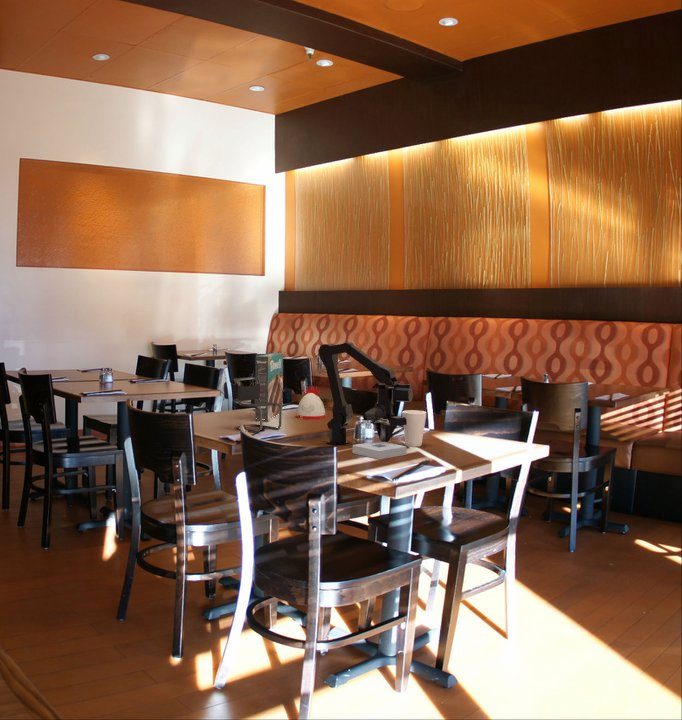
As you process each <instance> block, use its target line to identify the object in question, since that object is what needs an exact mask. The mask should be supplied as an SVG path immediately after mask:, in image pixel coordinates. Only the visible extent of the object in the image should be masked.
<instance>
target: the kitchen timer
mask: <svg viewBox="0 0 682 720" xmlns="http://www.w3.org/2000/svg"><path fill="white" fill-rule="evenodd" d="M320 391H321V389H319V390H318V387H317V386H316V387H315V388H314V386H312V388H311V386H310V385H309V386H308V388H305V390H302V392H303V395H304V396H303V397H302V398H301V400H300V401H299V404H298V406H297V409H296V419H299V418H303V419H302V420H307V419H316V420H321V419H320V418H324V419H326V409H325V406H324V402H323V401H322V399H321V398H320V397H319V396H318V395H319V393H320ZM297 415H298V416H297ZM300 416H303V417H300ZM321 416H323V417H321Z"/></svg>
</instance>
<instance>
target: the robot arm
mask: <svg viewBox="0 0 682 720" xmlns="http://www.w3.org/2000/svg"><path fill="white" fill-rule="evenodd" d="M317 353H318V357H319V358H320V362H321V363H322V364H323V366H324V367H325V370H326V375H327V379H328V384H329V387H330V392H331V393H330V394H331V397H332V398H331V399H332V401H333V403H332V404H333V405H332V418H331V419H330V420H329V421H327V423H326V425H327V429H329V440H328V441H326V443H327V444H331V445H334V446H338V445H346V444H350V442H349V441H347V428H346V427H348V426H349V423H350V422H351V421H352V419H353V415H354V411H353V409H352V408H353V407H352V403H349V404H348V402H347V401H346V398H345V395H344V390H343V385H342V381H341V375H340V372H339V367H338V363H339V355H341V354H345V353H346V354H347V355H348V356H350V357H351V358H352V359H353V360H354V361H356V362H358V363H359V364H360V365H362V366H363V367H364V368H366V369H367V370H368V371H369V372H370V374H371V375H372V376H373V378H374V379H375V380H376V381H377V382H375V384H374V385H372V387H371V388H372V389H376V390H377V402H375V403H374V407H372V408H370V409H369V410H367V411H366V412H364V414H363V415H362V416H363V417H362V419H363V421H367V422H370V424H372V425H373V426H374V427H375V429H376V430H375V431H376V432H377V436H378V438H379V440H380V434H381V423H382V422H387V424H383V426H384V427H385V435H386V442H388V443H389V441H390V439H391V438H392V436H393V434H394V432H395V430H396V428H397V427H399V426H403V425H407V419H406V418H405V417H402V415H401V416H400V415H398V416H396V415H395V413H393V407H395V406H396V403H394V401H393V400H395V402H399V403H401V402H402V403H403V402H404V403H411V402H413V401H412V400H413V397H414V392H413V387H412V384H411V383H406V384H405V383H400V381H399V380H398V379H397V377H396V376H395V375H396V374H395V371H394V369H393V368H391V367H390V366H387V365H385V364H383V363H381V362H378V361H377V360H375V359H373V358H372V357H371V356H369V355H368V354H367V353H366V352H364V351H363V350H361V349H360V348H359V347H357V346H356V345H355V344H354V343H353V342H350V341H348V342H344V343H339V344H334V343H324V344H321V345H320V346H319V348H318V350H317Z"/></svg>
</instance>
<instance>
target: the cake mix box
mask: <svg viewBox="0 0 682 720" xmlns="http://www.w3.org/2000/svg"><path fill="white" fill-rule="evenodd" d="M283 363H284V354H283V353H274V352H272V353H270V352H269V353H265V354H261V355H257V356H255V377H257V378H258V379H259V381H260V400H261V401H264V402H271V403H278V404H279V405H280V406H281V409H282V410H283V406H284V405H283V404H284V403H283V402H284V401H283V397H284V396H283V395H284V394H283V392H284V391H283V387H284V383H283V381H284V379H283V378H284V364H283ZM255 385H257V380H255ZM254 401H255V403H258V402H259V401H258V399H254ZM259 407H260V408H261V409H262V419H265V420H262V423H269V422H271V421H273V420H275V418H276V419H277V417H278V418H279V415H278V414H279V408H278V406H273V405H271V406H259ZM254 410H255V413H254V416H255V417H254V418H257V419H254V420H255V421H254V422H257V421H260V411H259V409H256V408H254ZM276 415H277V416H276ZM274 416H275V417H274ZM272 417H273V418H272ZM270 418H271V419H270Z"/></svg>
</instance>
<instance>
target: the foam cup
mask: <svg viewBox="0 0 682 720" xmlns="http://www.w3.org/2000/svg"><path fill="white" fill-rule="evenodd" d="M401 413H402V414H401V417H405V418H406V419H407V425H402V426H403V435H404V443H405V444H404V445H405V446H406V447H412V448H413V447H415V448H416V447H421V446H422V444H423V438H424V430H425V425H426V420H427V411H424V410H417V409H415V410H412V409H411V410H403V411H402V412H401Z"/></svg>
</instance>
